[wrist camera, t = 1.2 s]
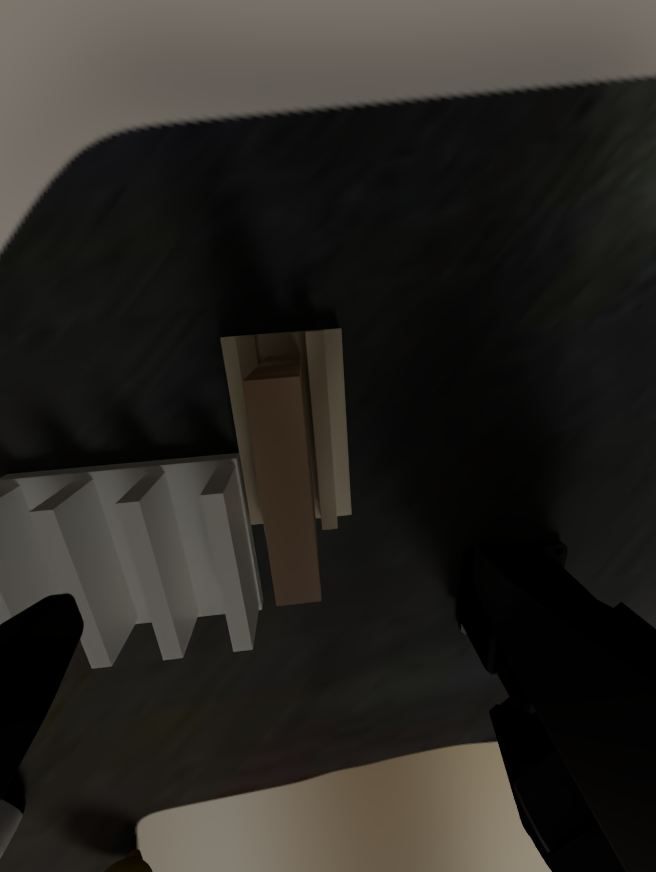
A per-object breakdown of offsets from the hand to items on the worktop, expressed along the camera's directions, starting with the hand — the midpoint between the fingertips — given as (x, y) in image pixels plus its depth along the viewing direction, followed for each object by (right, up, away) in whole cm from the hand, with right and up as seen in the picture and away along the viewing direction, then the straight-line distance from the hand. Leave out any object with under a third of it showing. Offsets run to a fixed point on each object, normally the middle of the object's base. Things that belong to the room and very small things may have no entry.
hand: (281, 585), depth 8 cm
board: (-1, +3, +10) cm, 10 cm away
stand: (-1, +4, +11) cm, 11 cm away
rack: (-9, -3, +12) cm, 16 cm away
